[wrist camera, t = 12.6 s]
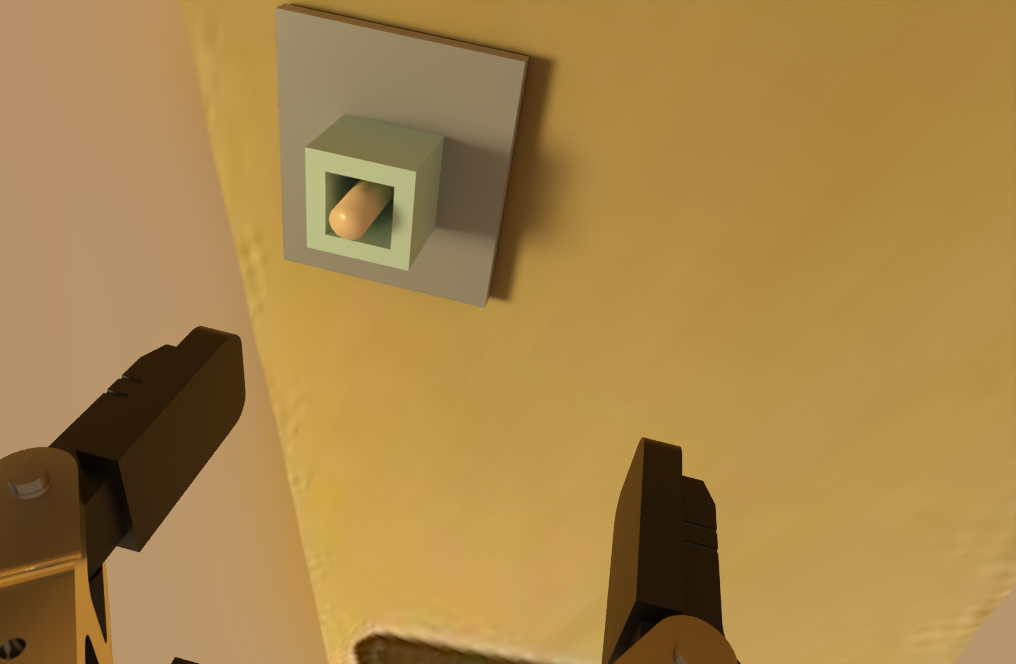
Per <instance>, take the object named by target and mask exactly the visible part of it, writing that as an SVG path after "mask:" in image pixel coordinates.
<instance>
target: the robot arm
mask: <svg viewBox="0 0 1016 664" xmlns="http://www.w3.org/2000/svg"><path fill="white" fill-rule="evenodd" d="M244 402H245V380H244V368H243V355H242V343H241V339H240V337H239V336H238V335H235V334H231V333H227V332H223V331H219V330H215V329H211V328H207V327H203V326H199V327H196V328H195V329H193V330H192V331H191V332H190V333H189V335H187V336H186V337H185V338H184V339H183V341H182V342H181V343H180V344H179V345H178V346H177V347H175V346H171V345H164V346H162V347H160V348H158V349H156V350H154V351H152V352H150V353H148V354H146V355H144V356H142V357H140V358H139V359H138V360H137V361H136V362H135V363H134V364H133V365H132V366H131V367H130V368H129V369H128V370H127V371H126V372H125V373H124V374H123V375H122V378H121V379H118V380H117V381H116V382H115V383H114V384H112V385H111V386H110V387H109V388H108V390H107V393H103V394H102V395H101V396H100V397H99V398H98V399H97V400H96V401H95V402H94V403H93V404H92V405H91V406H90V407H89V408H88V409H87V410H86V411H85V412H84V413H83V414H82V415H81V416H80V417H79V418H77V419H76V421H74V423H72V424H71V425H70V426H69V427H68V428H67V429H66V430H65V431H64V432H63V433H62V434H61V435H60V436H59V437H58V438H57V439H56V440H55V441H54V442H53V443H52V444H51V445H50V446H49V447H39V448H38V447H37V448H30V449H26V450H22V451H18V452H15V453H13V454H10V455H8V456H6V457H4V458H2V459H1V460H0V664H113V656H112V642H111V628H110V613H109V597H108V582H107V568H106V564H105V560H106V559H107V557H108V556H109V555H110V553H111V552H112V551H113V549H115V547H116V546H118V547H122V548H126V549H129V550H133V551H137V552H140V551H141V550H142V548H143V547H144V546H145V544H146V543H147V541H148V540H149V539H150V538H151V536H152V535H153V534H154V532H155V531H156V530H157V528H158V527H159V526H160V524H161V523H162V522H163V520H164V519H165V518H166V516H167V515H168V514H169V512H170V511H171V510H172V508H173V507H174V506H175V504H176V503H177V502H178V500H179V499H180V498H181V496H182V495H183V494H184V492H185V491H186V490H187V488H188V487H189V486H190V484H191V483H192V482H193V480H194V479H195V478H196V476H197V475H198V474H199V472H200V471H201V470H202V468H203V467H204V466H205V464H206V463H207V462H208V460H209V459H210V458H211V456H212V455H213V454H214V452H215V451H216V450H217V448H218V447H219V446H220V444H221V443H222V442H223V440H224V439H225V438H226V436H227V435H228V434H229V432H230V431H231V430H232V428H233V427H234V426H235V424H236V423H237V421H238V419H239V417H240V415H241V413H242V410H243V407H244ZM716 529H717V525H716V507H715V503H714V501H713V499H712V497H711V495H710V493H709V491H708V490H707V488H706V486H705V484H704V482H703V481H702V480H698V479H694V478H690V477H686V476H682V449H681V447H680V446H676V445H672V444H668V443H664V442H660V441H656V440H652V439H648V438H644V437H642V438H641V440H640V442H639V444H638V447H637V450H636V452H635V455H634V458H633V460H632V463H631V466H630V469H629V471H628V474H627V477H626V479H625V482H624V485H623V488H622V490H621V494H620V497H619V501H618V505H617V510H616V515H615V523H614V533H613V544H612V555H611V566H610V577H609V589H608V600H607V611H606V622H605V633H604V644H603V655H602V664H740V662H739V661H738V660H737V658H736V656H735V653H734V651H733V649H732V647H731V645H730V644H729V642H728V641H727V640H726V638H725V635H724V632H723V625H722V610H721V593H720V576H719V559H718V553H717V549H718V542H717V533H716ZM171 664H198V663H195V662H191V661H188V660H184V659H180V658H177V657H175V658H174V660H173V662H172V663H171Z"/></svg>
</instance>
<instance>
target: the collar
mask: <svg viewBox="0 0 1016 664" xmlns="http://www.w3.org/2000/svg"><path fill="white" fill-rule="evenodd" d="M443 143H444V136H442V135H438V134H433V133H429V132H424V131H420V130H415V129H410V128H406V127H401V126H397V125H392V124H388V123H383V122H378V121H374V120H369V119H365V118H360V117H356V116H351V115H347V114H344V115H343V116H342V117H341V118H339V119H338V120H337V121H336V122H335V123H333V124H332V125H331V126H330V127H329V128H327V129H326V130H325V131H324V132H323V133H321V134H320V135H319V136H318V137H317V138H315V139H314V140H313V141H312V142H311V143H309V144H308V145H307V146H306V147H305V167H306V222H307V247H308V248H312V249H317V250H321V251H325V252H330V253H334V254H338V255H343V256H347V257H351V258H355V259H360V260H364V261H368V262H373V263H377V264H381V265H385V266H390V267H394V268H398V269H403V270H407V271H409V269H410V268H411V266H412V264H413V263H414V261H415V259H416V258H417V256H418V255H419V253H420V251H421V250H422V248H423V246H424V245H425V243H426V242H427V240H428V238H429V237H430V235H431V234H432V232H433V230H434V229H435V223H436V213H437V203H438V193H439V183H440V173H441V163H442V153H443ZM360 179H362V180H366V181H371V182H375V183H379V184H384V185H388V186H393V187H394V202H390V201H389V202H388V204H387V205H386V206H385V207H384V209H383V210H382V211H381V212H380V214H379V215H378V216H377V218H376V219H375V220H374V221H373V223H372V224H371V225H370V226H369V228H368V229H367V230H366V232H365V233H364V234H363V235H362V236H361V237H360V238H358V239H355V240H347V239H344V238H342V237H340V236H339V235H337V234H336V233H335V232H334V231H333V229H332V227H331V225H330V222H329V216H330V213H331V211H332V210H333V209H334V207H335V206H336V205H337V204H338V203H339V202H340V201H341V200H342V199H343V198H344V197H345V196H346V194H347V193H348V192H349V191H350V190H351V189H352V188H353V187H354V186H355V185H356V184H357V183H358V181H359V180H360Z"/></svg>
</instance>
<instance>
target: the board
mask: <svg viewBox="0 0 1016 664" xmlns="http://www.w3.org/2000/svg"><path fill="white" fill-rule="evenodd" d="M276 38H277V68H278V98H279V128H280V158H281V188H282V218H283V248H284V260H288V261H293V262H297V263H301V264H305V265H309V266H313V267H318V268H322V269H326V270H330V271H334V272H338V273H342V274H347V275H351V276H355V277H359V278H363V279H367V280H372V281H376V282H380V283H384V284H388V285H392V286H396V287H401V288H405V289H409V290H413V291H417V292H421V293H426V294H430V295H434V296H438V297H442V298H446V299H450V300H455V301H459V302H463V303H467V304H471V305H475V306H480V307H484V308H485V306H486V304H487V301H488V299H489V293H490V287H491V281H492V275H493V269H494V263H495V257H496V251H497V245H498V239H499V233H500V228H501V222H502V216H503V210H504V204H505V198H506V192H507V186H508V180H509V174H510V168H511V162H512V156H513V150H514V144H515V138H516V132H517V126H518V120H519V114H520V108H521V102H522V96H523V90H524V84H525V78H526V72H527V66H528V60H529V56H525V55H520V54H516V53H511V52H506V51H502V50H497V49H493V48H488V47H483V46H479V45H474V44H469V43H465V42H460V41H456V40H451V39H446V38H442V37H437V36H432V35H428V34H423V33H419V32H414V31H409V30H405V29H400V28H395V27H391V26H386V25H382V24H377V23H372V22H368V21H363V20H358V19H354V18H349V17H345V16H340V15H335V14H331V13H326V12H321V11H317V10H312V9H308V8H303V7H298V6H294V5H289V4H283V5H281V6H279V7H276ZM344 114H347V115H351V116H356V117H360V118H365V119H369V120H374V121H378V122H383V123H388V124H392V125H397V126H401V127H406V128H410V129H415V130H420V131H424V132H429V133H433V134H438V135H442V136H444V143H443V153H442V163H441V173H440V183H439V193H438V203H437V213H436V223H435V229H434V230H433V232H432V234H431V235H430V237H429V238H428V240H427V242H426V243H425V245H424V246H423V248H422V250H421V251H420V253H419V255H418V256H417V258H416V259H415V261H414V263H413V264H412V266H411V268H410V269H409V271H407V270H403V269H398V268H394V267H390V266H385V265H381V264H377V263H373V262H368V261H364V260H360V259H355V258H351V257H347V256H343V255H338V254H334V253H330V252H325V251H321V250H317V249H312V248H308V247H307V222H306V167H305V147H306V146H307V145H308V144H309V143H311V142H312V141H313V140H314V139H315V138H317V137H318V136H319V135H320V134H321V133H323V132H324V131H325V130H326V129H327V128H329V127H330V126H331V125H332V124H333V123H335V122H336V121H337V120H338V119H339V118H341V117H342V116H343V115H344ZM389 201H390V202H394V187H393V186H388V185H384V184H379V183H375V182H371V181H366V180H362V179H360V180H359V181H358V183H357V184H356V185H355V186H354V187H353V188H352V189H351V190H350V191H349V192H348V193H347V194H346V196H345V197H344V198H343V199H342V200H341V201H340V202H339V203H338V204H337V205H336V206H335V207H334V209H333V210H332V211H331V213H330V216H329V222H330V225H331V227H332V229H333V231H334V232H335V233H336V234H337V235H339V236H340V237H342V238H344V239H347V240H355V239H358V238H360V237H361V236H362V235H363V234H364V233H365V232H366V230H367V229H368V228H369V226H370V225H371V224H372V223H373V221H374V220H375V219H376V218H377V216H378V215H379V214H380V212H381V211H382V210H383V209H384V207H385V206H386V205H387V204H388V202H389Z"/></svg>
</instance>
